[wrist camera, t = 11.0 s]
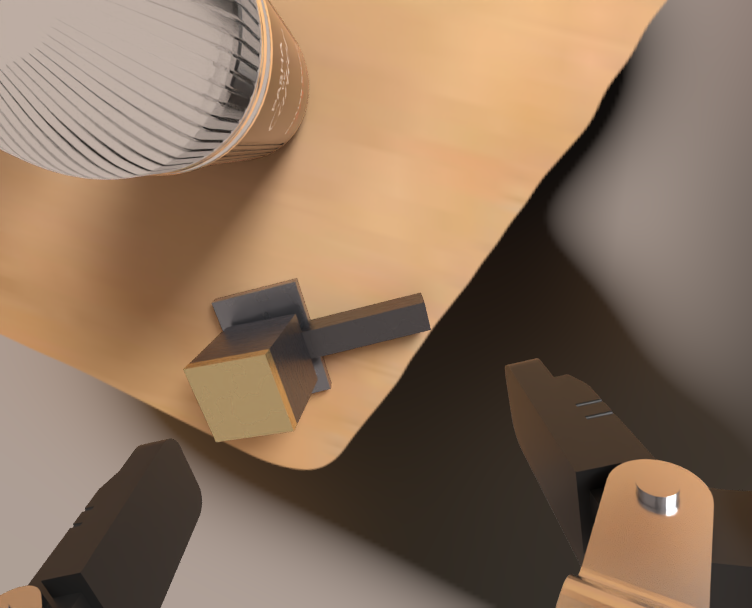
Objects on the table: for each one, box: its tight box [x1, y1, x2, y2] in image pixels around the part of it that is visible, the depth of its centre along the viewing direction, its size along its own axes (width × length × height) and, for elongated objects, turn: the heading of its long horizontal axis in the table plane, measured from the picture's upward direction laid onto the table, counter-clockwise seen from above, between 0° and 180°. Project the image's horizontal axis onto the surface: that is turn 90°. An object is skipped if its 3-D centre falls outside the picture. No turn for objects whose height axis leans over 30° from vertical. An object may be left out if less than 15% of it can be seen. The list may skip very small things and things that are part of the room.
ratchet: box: [212, 278, 431, 393], centre depth 36 cm, size 10×16×6 cm, turn 104°
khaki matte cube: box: [183, 314, 318, 442], centre depth 34 cm, size 6×6×7 cm
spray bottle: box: [0, 0, 309, 180], centre depth 20 cm, size 10×10×25 cm
